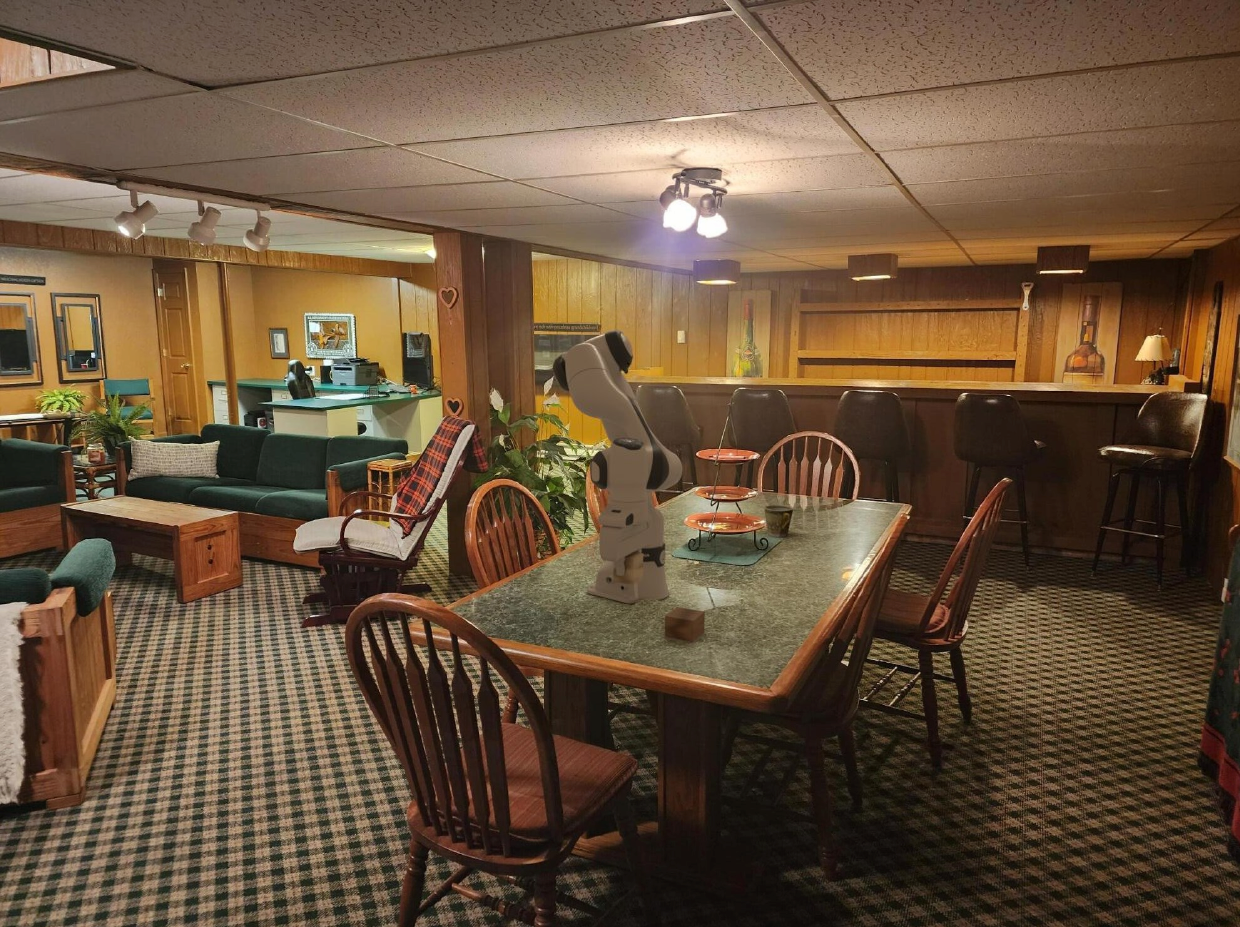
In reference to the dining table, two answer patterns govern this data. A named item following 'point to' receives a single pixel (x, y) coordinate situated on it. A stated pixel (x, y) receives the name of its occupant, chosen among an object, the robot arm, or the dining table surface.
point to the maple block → (631, 569)
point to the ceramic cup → (778, 519)
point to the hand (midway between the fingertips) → (627, 571)
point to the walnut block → (684, 624)
